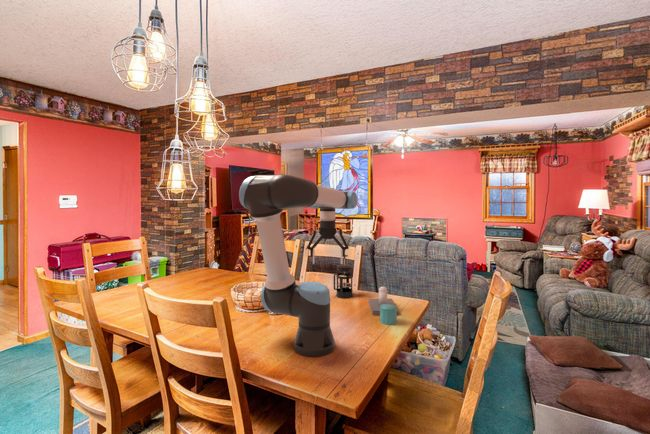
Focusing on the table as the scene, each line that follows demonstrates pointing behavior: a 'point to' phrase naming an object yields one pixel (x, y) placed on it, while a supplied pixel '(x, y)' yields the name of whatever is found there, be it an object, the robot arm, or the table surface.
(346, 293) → the french press
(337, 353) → the table surface
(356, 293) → the table surface
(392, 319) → the teal cylinder
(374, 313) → the post base
